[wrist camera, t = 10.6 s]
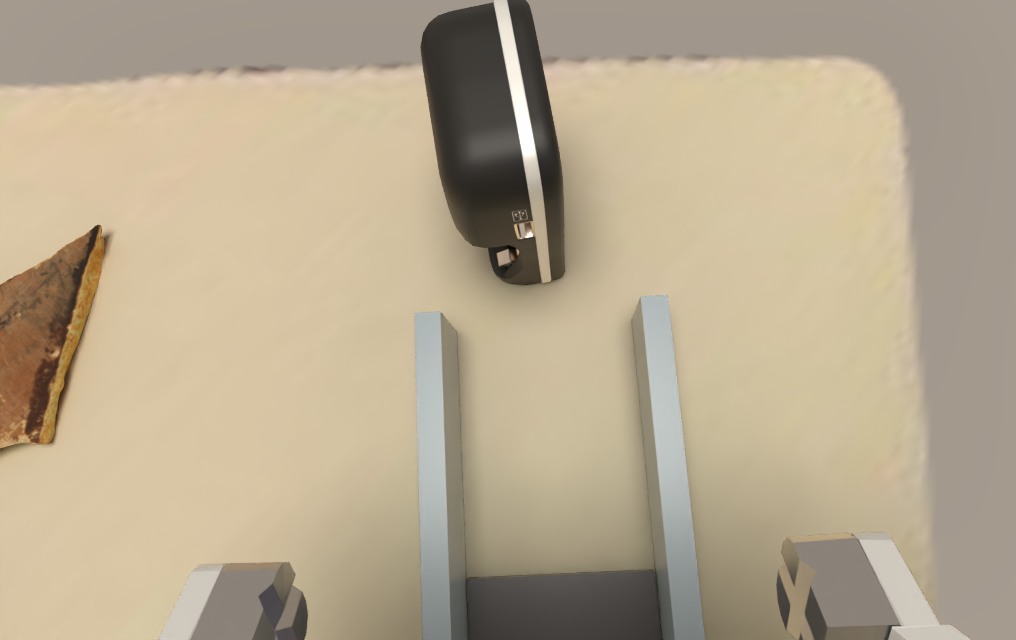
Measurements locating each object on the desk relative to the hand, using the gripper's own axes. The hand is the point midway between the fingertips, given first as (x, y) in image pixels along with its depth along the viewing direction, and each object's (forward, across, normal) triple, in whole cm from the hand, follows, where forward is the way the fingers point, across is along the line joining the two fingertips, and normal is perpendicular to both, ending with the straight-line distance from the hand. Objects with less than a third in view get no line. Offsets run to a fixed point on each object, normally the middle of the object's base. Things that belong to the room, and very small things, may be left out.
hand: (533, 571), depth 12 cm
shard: (+19, +25, +6) cm, 32 cm away
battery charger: (+22, +1, +3) cm, 22 cm away
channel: (+13, 0, +12) cm, 17 cm away
